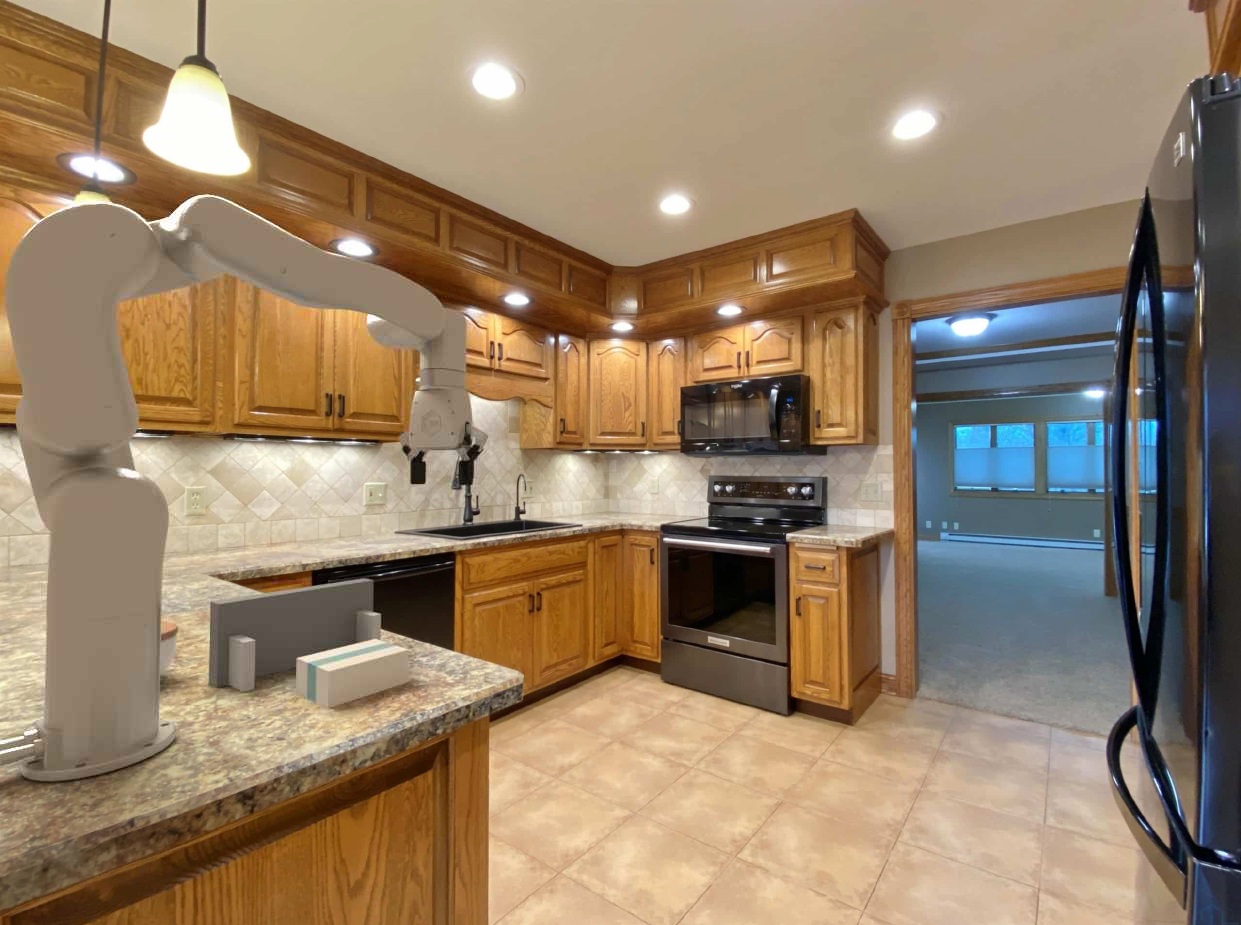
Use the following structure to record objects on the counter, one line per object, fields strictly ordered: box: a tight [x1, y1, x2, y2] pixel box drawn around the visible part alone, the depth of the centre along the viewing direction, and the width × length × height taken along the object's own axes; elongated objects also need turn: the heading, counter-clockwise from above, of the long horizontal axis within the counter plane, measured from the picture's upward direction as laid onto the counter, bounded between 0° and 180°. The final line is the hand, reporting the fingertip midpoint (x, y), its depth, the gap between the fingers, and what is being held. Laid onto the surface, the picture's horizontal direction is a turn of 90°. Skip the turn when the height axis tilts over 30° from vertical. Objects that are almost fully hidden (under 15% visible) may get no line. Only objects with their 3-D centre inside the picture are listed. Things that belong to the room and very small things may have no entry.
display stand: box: [208, 578, 382, 693], centre depth 92 cm, size 24×8×12 cm, turn 144°
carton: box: [295, 639, 410, 709], centre depth 83 cm, size 12×9×5 cm
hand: (441, 484), depth 96 cm, fingers open, 9 cm apart
